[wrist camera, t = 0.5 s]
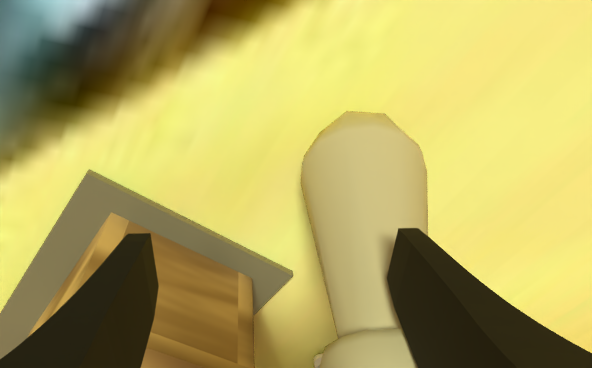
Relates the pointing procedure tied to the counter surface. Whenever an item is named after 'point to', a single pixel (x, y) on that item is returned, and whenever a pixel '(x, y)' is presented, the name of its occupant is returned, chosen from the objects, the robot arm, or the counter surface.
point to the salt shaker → (363, 231)
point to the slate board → (85, 225)
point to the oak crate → (179, 302)
